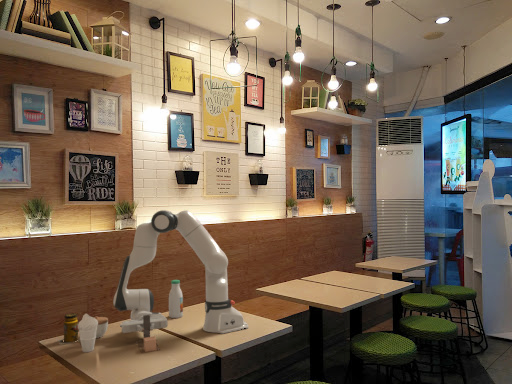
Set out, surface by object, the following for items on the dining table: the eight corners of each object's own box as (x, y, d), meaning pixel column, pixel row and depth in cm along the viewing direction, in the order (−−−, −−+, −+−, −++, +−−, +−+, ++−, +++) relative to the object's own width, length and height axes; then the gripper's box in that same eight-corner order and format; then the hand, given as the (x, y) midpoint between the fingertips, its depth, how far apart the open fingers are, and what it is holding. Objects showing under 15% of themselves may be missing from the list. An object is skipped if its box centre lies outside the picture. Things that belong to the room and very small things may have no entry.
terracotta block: (143, 348, 178) (143, 337, 179) (154, 346, 180) (154, 336, 180) (145, 351, 174) (145, 340, 174) (156, 350, 176) (156, 339, 176)
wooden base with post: (136, 343, 189) (135, 314, 189) (154, 341, 192) (153, 311, 192) (141, 356, 173) (140, 323, 173) (160, 353, 176) (160, 321, 176)
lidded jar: (92, 332, 207) (92, 313, 207) (112, 333, 205) (112, 313, 206) (79, 339, 196) (79, 319, 197) (100, 340, 195) (100, 319, 195)
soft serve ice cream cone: (95, 346, 187) (95, 309, 187) (100, 351, 180) (100, 313, 180) (75, 350, 182) (75, 312, 182) (80, 355, 175) (80, 316, 175)
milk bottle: (176, 319, 228) (176, 282, 229) (165, 317, 232) (165, 281, 233) (185, 315, 235) (185, 279, 236) (175, 314, 239) (174, 278, 239)
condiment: (80, 341, 194) (80, 315, 194) (60, 345, 189) (59, 318, 189) (77, 337, 200) (76, 312, 200) (57, 340, 195) (57, 314, 195)
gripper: (119, 317, 194) (122, 325, 181) (164, 312, 202) (169, 319, 189) (119, 331, 193) (122, 339, 181) (164, 325, 201) (170, 333, 189)
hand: (147, 329), depth 185 cm, fingers closed on wooden base with post, 2 cm apart
